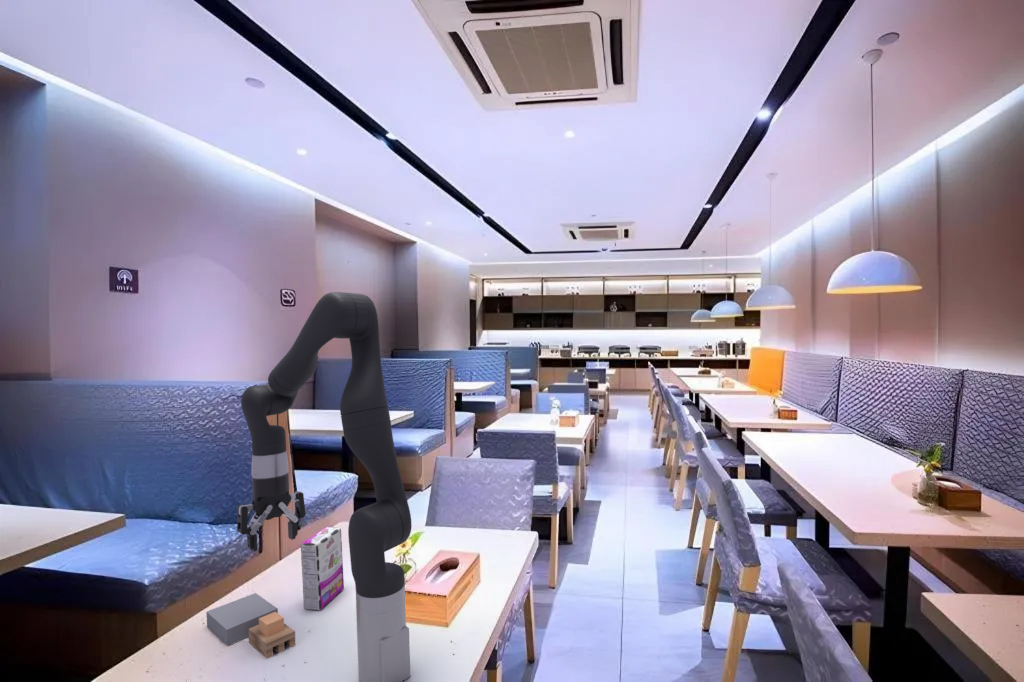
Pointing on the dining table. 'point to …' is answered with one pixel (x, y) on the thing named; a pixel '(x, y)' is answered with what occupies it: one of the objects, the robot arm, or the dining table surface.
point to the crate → (271, 624)
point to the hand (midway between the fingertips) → (273, 544)
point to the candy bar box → (322, 568)
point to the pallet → (271, 640)
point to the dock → (238, 617)
